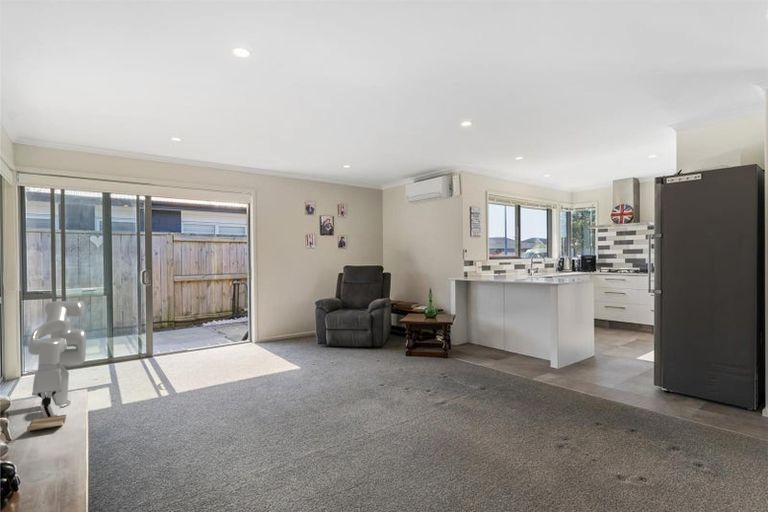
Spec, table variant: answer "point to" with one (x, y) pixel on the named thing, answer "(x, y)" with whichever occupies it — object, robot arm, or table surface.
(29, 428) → the oak plank
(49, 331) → the robot arm
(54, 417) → the walnut board
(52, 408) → the white curved device
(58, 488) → the table surface
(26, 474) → the table surface
